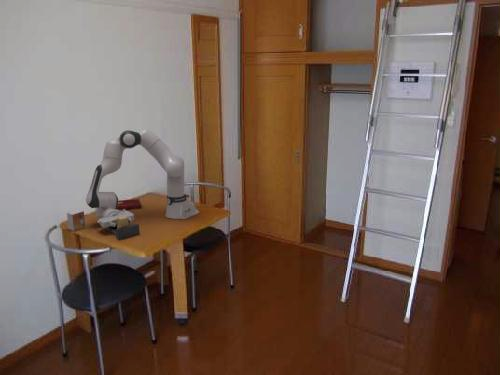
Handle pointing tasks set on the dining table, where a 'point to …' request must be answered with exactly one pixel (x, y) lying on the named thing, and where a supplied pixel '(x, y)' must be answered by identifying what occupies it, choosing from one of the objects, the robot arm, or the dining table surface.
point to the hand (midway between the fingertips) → (123, 223)
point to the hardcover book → (129, 204)
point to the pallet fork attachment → (125, 231)
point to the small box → (76, 220)
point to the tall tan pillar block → (122, 221)
